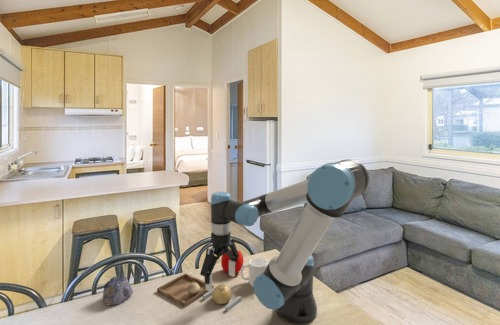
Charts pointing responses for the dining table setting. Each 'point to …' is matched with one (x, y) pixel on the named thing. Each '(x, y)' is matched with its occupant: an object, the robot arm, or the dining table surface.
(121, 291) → the rock
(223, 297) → the onion
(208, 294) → the cradle
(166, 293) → the tray
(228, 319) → the dining table surface
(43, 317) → the dining table surface
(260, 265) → the cup
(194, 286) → the ball
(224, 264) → the tomato
